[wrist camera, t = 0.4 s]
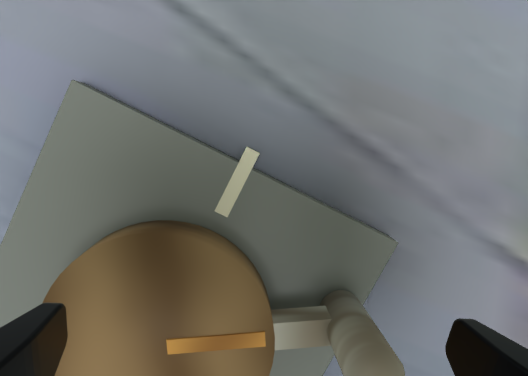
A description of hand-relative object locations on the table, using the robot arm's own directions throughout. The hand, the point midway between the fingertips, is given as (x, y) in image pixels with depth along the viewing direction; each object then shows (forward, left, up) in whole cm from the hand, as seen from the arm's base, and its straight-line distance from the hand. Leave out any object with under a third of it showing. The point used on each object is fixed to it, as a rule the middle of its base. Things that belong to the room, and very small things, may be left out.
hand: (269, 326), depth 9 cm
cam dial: (-7, -1, -13) cm, 14 cm away
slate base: (-8, +1, -14) cm, 16 cm away
